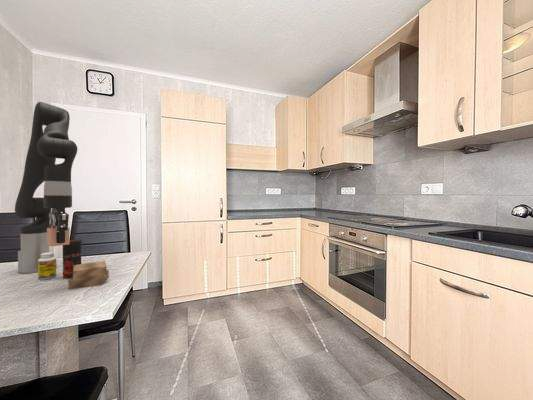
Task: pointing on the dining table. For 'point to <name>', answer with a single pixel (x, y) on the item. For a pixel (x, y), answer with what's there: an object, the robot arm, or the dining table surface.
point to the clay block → (52, 237)
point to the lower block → (87, 282)
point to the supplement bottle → (47, 266)
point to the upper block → (89, 270)
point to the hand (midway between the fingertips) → (58, 241)
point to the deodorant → (71, 257)
